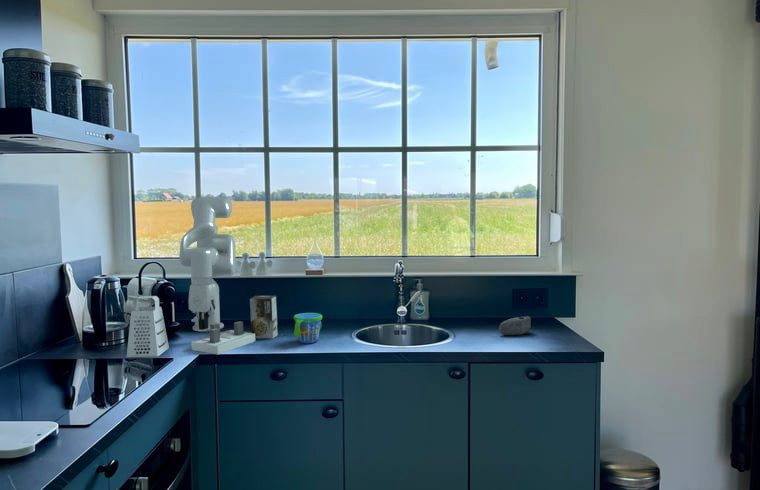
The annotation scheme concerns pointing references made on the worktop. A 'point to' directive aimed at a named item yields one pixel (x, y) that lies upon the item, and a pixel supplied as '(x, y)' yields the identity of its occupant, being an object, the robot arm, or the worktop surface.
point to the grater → (147, 330)
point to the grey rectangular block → (215, 326)
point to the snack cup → (307, 327)
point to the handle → (214, 335)
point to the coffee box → (264, 316)
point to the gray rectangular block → (238, 328)
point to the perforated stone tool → (515, 326)
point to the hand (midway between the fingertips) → (203, 328)
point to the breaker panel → (223, 342)
